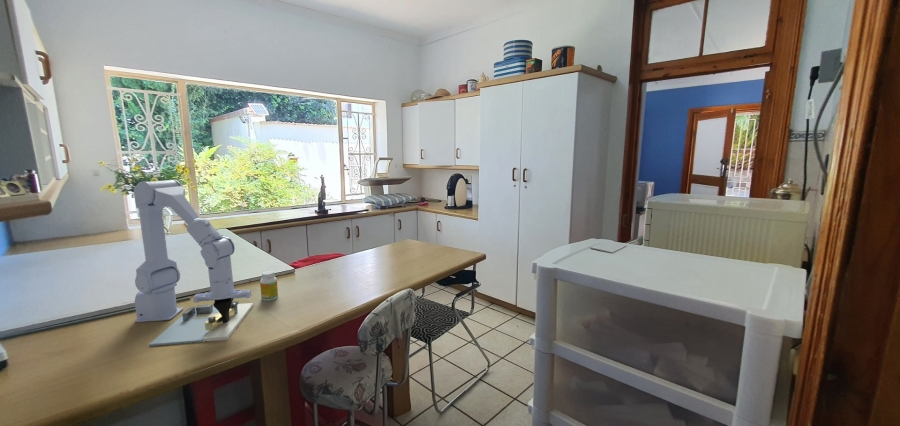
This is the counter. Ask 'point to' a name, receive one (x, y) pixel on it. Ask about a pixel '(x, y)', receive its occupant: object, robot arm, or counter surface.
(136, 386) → the counter surface
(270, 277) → the supplement bottle
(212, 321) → the swing bar
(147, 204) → the robot arm
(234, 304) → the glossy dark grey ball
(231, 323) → the door panel
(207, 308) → the keeper
